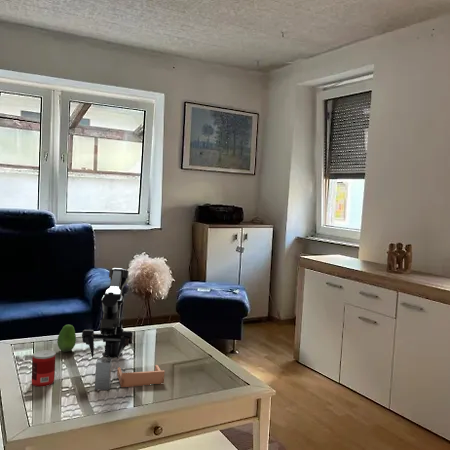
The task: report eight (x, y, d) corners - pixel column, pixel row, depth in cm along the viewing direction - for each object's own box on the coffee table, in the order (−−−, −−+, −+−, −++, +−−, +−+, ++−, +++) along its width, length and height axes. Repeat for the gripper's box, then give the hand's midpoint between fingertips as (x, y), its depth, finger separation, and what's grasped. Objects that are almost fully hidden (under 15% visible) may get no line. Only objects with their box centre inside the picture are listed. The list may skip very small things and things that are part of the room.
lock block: (96, 383, 174) (97, 357, 174) (110, 383, 175) (111, 357, 174) (94, 389, 169) (96, 362, 169) (108, 389, 170) (110, 362, 169)
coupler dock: (117, 374, 184) (118, 362, 184) (157, 372, 189) (158, 360, 189) (121, 387, 173) (121, 374, 172) (163, 384, 178) (164, 371, 178)
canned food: (58, 380, 175) (60, 352, 174) (43, 388, 167) (45, 358, 166) (41, 377, 177) (43, 348, 176) (26, 384, 170) (27, 354, 169)
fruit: (78, 351, 206) (80, 325, 206) (62, 355, 201) (63, 328, 200) (69, 347, 212) (71, 321, 211) (53, 350, 206) (54, 323, 205)
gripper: (83, 308, 177) (77, 346, 167) (133, 310, 180) (130, 348, 170) (86, 323, 186) (79, 360, 175) (133, 325, 188) (130, 361, 178)
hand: (105, 357), depth 174 cm, fingers open, 9 cm apart
